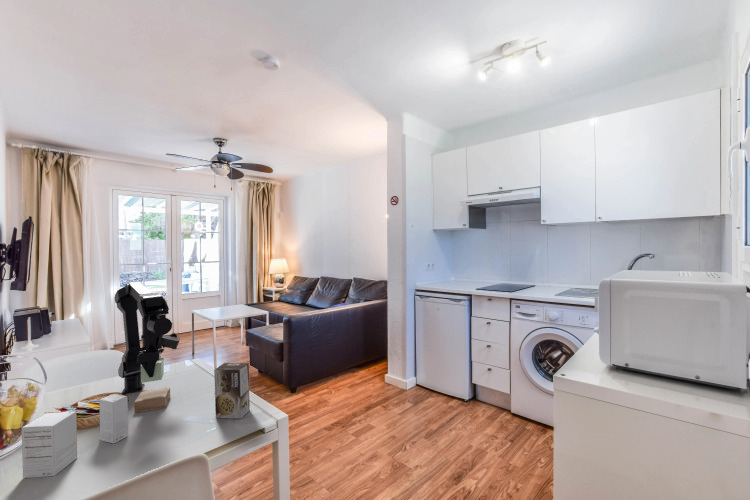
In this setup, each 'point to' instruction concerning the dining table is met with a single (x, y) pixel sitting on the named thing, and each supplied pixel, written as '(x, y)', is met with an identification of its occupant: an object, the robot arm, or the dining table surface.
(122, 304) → the robot arm
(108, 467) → the dining table surface
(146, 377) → the sage cube
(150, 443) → the dining table surface
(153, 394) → the walnut block
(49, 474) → the supplement box
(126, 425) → the skincare box
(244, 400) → the grey cardboard box
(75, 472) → the dining table surface
